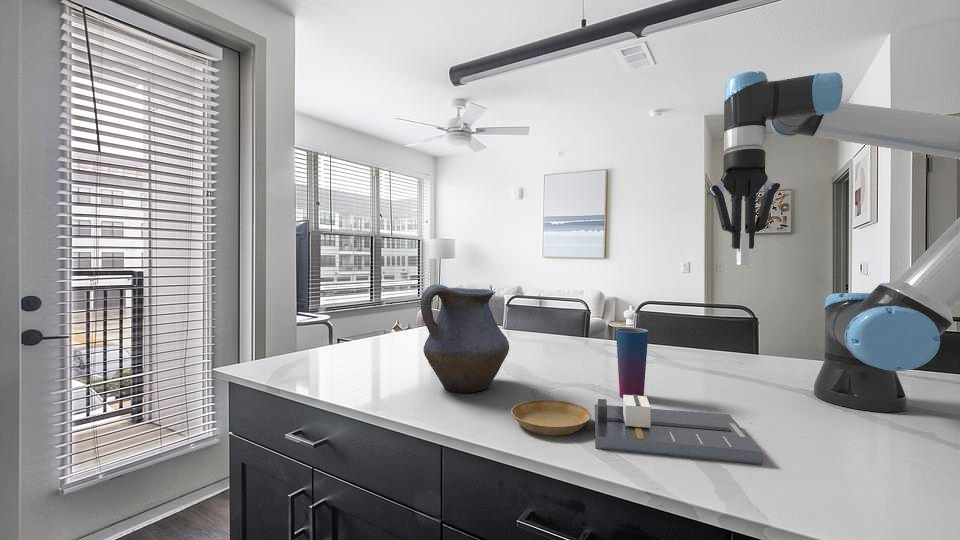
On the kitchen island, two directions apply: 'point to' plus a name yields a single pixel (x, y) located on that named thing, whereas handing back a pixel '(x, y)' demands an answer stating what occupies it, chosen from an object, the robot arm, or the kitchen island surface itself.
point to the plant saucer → (551, 416)
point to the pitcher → (463, 338)
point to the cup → (631, 360)
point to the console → (676, 435)
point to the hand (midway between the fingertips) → (742, 264)
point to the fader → (636, 411)
